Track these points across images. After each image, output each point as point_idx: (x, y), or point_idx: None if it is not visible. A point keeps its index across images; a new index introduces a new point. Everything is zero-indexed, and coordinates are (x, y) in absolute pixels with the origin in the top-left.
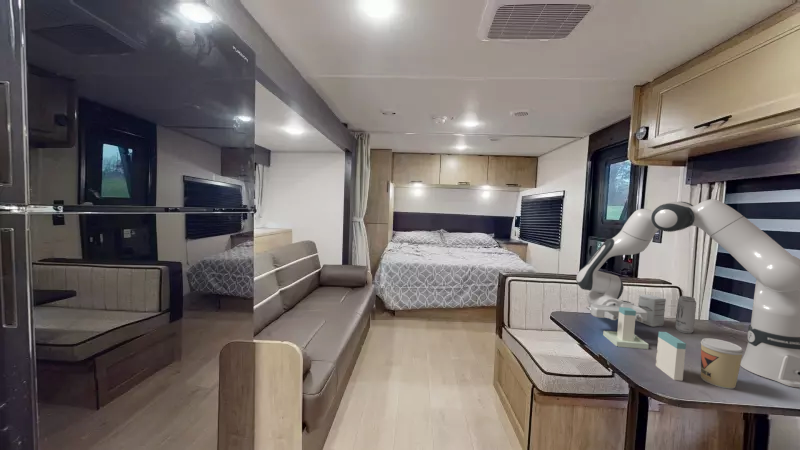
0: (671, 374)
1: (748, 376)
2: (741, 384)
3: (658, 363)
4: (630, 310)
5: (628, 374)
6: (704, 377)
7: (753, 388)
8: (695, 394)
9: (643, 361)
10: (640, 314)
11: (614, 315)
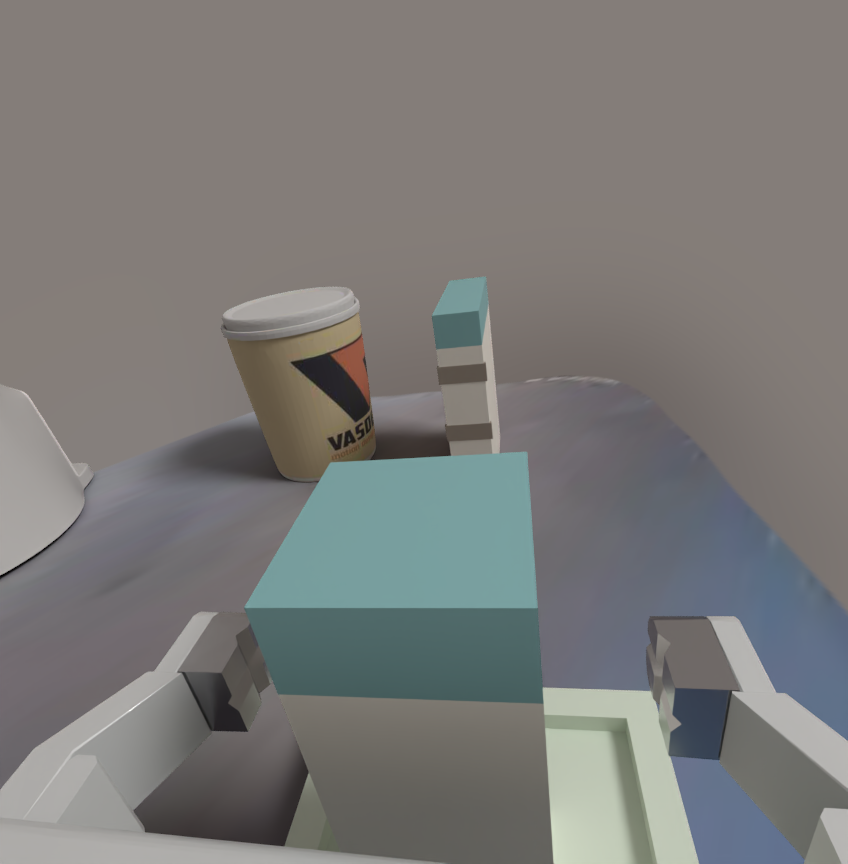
0: (498, 430)
1: (135, 504)
2: (255, 458)
3: None
4: (411, 466)
5: (681, 431)
6: (373, 439)
7: (246, 448)
8: None
9: (538, 531)
10: (15, 772)
11: (692, 629)
